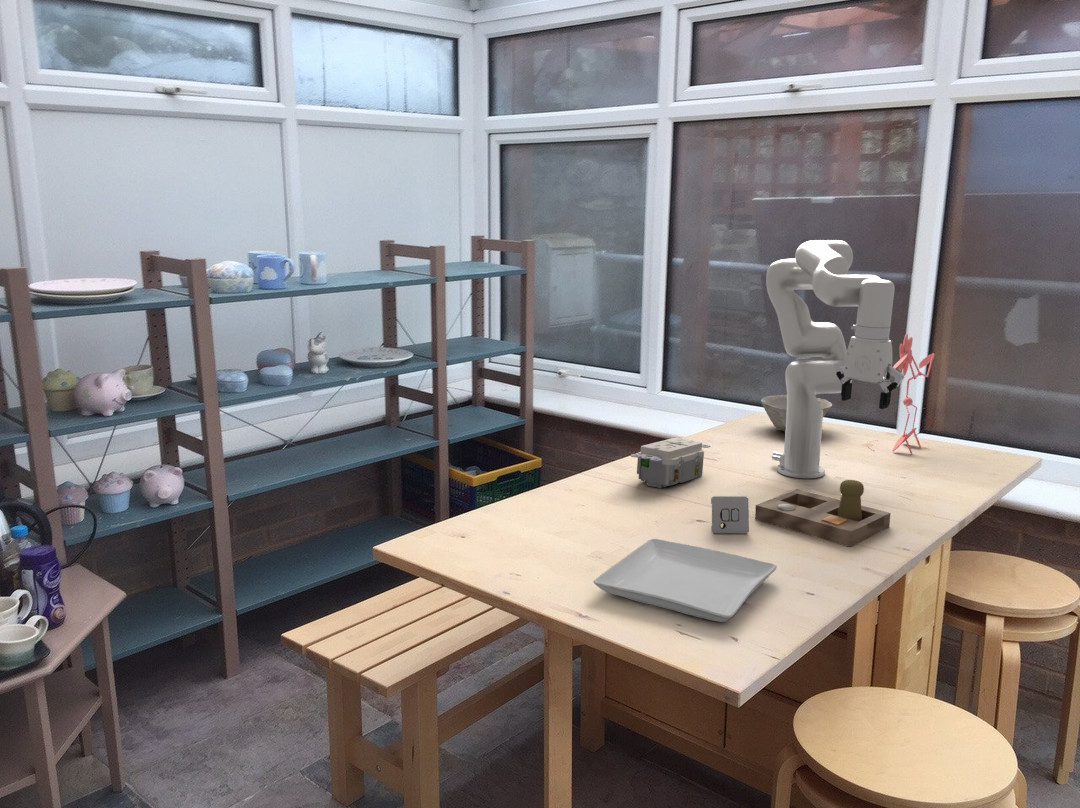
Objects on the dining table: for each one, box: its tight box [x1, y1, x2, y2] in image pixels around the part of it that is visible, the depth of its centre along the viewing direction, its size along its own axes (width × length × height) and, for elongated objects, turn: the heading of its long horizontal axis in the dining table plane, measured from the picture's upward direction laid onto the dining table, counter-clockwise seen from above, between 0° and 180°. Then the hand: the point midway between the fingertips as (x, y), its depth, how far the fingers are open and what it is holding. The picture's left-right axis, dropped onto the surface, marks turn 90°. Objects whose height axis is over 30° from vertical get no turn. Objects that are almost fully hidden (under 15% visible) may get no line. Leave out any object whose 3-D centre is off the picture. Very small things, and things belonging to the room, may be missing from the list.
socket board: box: [754, 488, 891, 548], centre depth 209 cm, size 24×18×4 cm
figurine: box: [866, 333, 936, 455], centre depth 273 cm, size 15×26×35 cm, turn 142°
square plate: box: [592, 538, 778, 623], centre depth 174 cm, size 27×27×4 cm
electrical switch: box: [710, 495, 750, 535], centre depth 204 cm, size 8×5×8 cm, turn 90°
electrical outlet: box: [629, 437, 711, 489], centre depth 242 cm, size 12×28×10 cm, turn 141°
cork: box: [837, 479, 865, 522], centre depth 206 cm, size 6×6×11 cm
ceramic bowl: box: [761, 394, 833, 433], centre depth 294 cm, size 22×23×10 cm
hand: (864, 403), depth 216 cm, fingers open, 9 cm apart
